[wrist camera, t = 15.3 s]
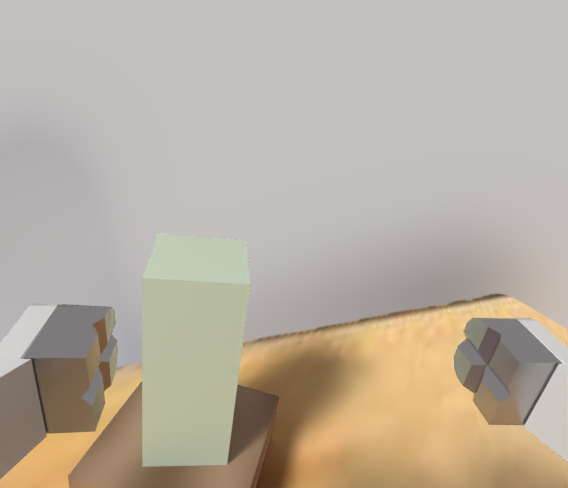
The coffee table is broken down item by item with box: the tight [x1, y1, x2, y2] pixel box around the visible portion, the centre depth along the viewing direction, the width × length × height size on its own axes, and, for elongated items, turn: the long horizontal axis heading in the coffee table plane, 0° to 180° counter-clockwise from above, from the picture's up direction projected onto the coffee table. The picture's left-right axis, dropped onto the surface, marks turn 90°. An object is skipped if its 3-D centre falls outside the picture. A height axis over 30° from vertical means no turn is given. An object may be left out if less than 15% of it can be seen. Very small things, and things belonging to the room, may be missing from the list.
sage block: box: [142, 233, 250, 467], centre depth 24 cm, size 5×5×13 cm
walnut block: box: [68, 382, 279, 488], centre depth 27 cm, size 10×10×4 cm
